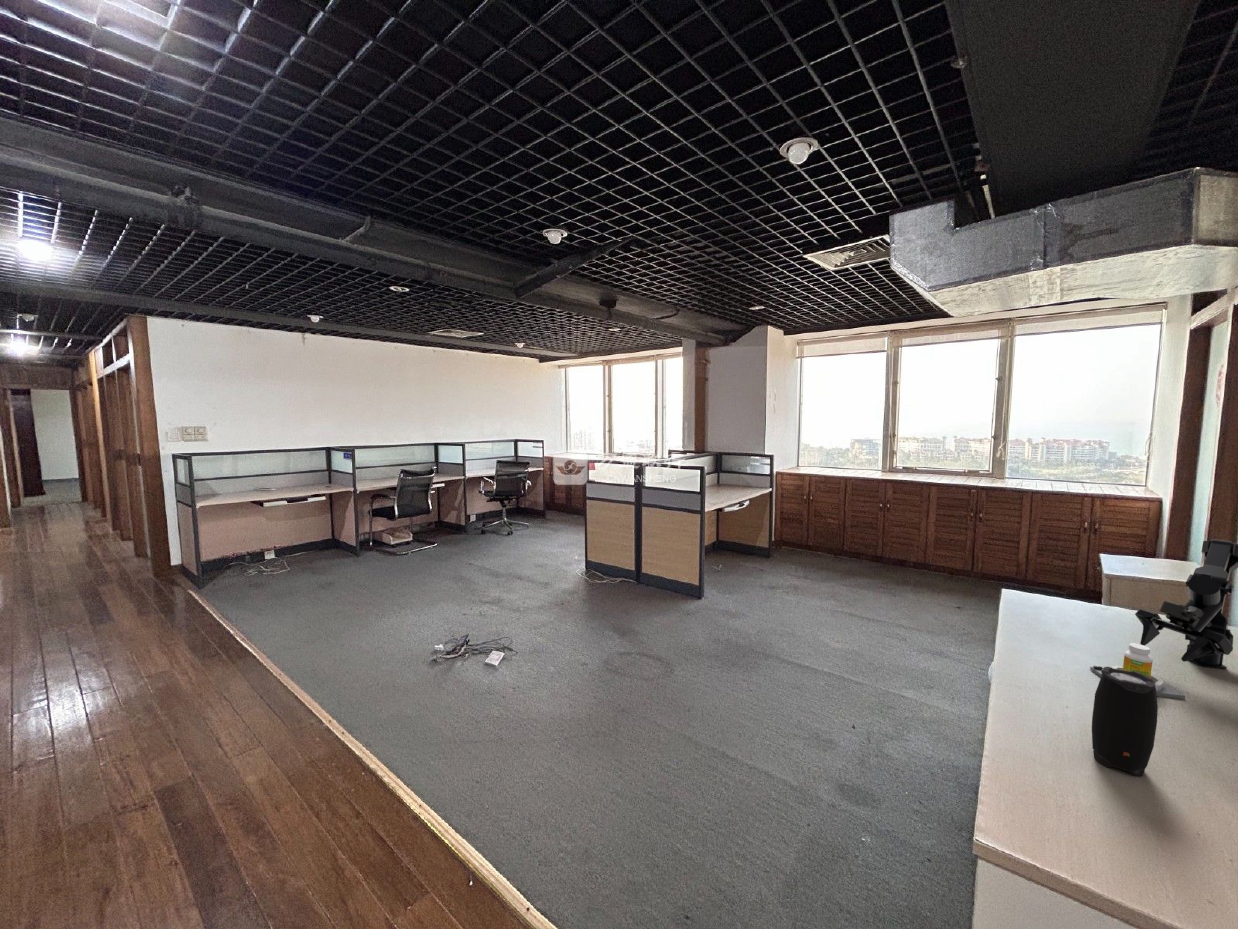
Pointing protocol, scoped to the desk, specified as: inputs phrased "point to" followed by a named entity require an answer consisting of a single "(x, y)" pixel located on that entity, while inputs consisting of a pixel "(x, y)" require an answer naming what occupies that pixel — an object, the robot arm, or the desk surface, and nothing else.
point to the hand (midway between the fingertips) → (1161, 652)
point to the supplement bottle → (1138, 659)
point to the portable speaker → (1124, 720)
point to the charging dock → (1161, 687)
